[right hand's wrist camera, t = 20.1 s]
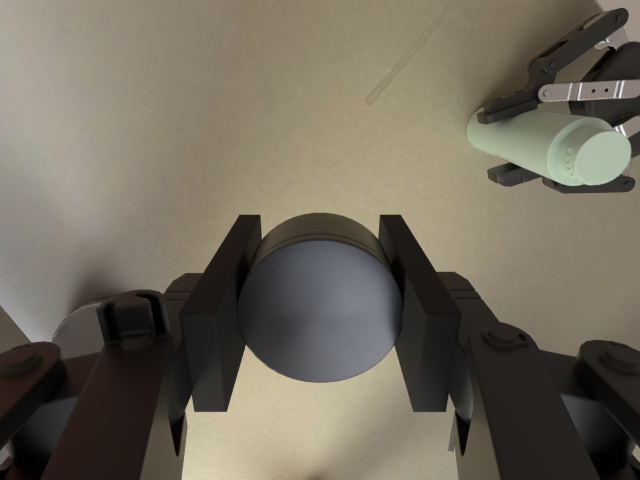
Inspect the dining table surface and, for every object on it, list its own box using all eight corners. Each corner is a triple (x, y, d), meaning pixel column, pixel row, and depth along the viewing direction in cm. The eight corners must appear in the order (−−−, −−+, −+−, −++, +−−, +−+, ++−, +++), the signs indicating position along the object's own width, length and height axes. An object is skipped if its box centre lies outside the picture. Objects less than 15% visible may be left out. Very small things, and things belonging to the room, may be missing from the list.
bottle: (460, 145, 37) (553, 187, 22) (474, 101, 35) (584, 113, 20) (501, 153, 37) (620, 199, 22) (516, 109, 36) (656, 127, 21)
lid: (420, 271, 12) (440, 308, 10) (327, 359, 13) (329, 407, 11) (310, 181, 11) (308, 202, 9) (221, 286, 12) (202, 326, 10)
